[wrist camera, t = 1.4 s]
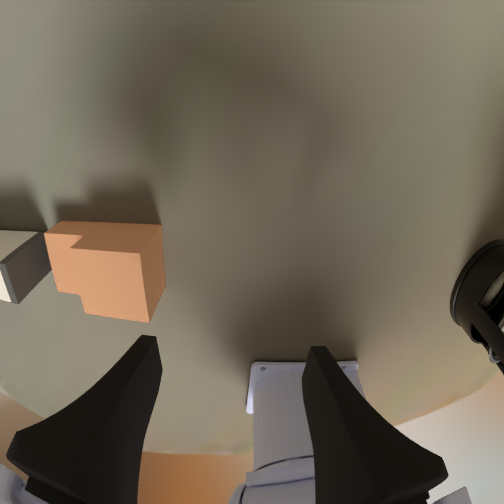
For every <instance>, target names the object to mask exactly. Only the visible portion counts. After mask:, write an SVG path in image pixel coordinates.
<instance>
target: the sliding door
mask: <svg viewBox="0 0 504 504" xmlns="http://www.w3.org/2000/svg"><path fill="white" fill-rule="evenodd" d="M44 233H45V232H29V231H7V230H0V299H1V300H5V301H8V302H12V303H16V304H19V303H20V302H21V301H22V300H23V299H24V298H25V297H26V296H27V294H28V293H29V292H30V291H31V290H32V289H33V288H34V287H35V286H36V285H37V284H38V283H39V282H40V281H41V280H42V279H43V278H44V277H45V276H46V275H47V274H48V273H49V272H50V271H51V270H52V267H51V263H50V259H49V255H48V250H47V246H46V241H45V236H44Z"/></svg>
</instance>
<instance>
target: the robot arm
mask: <svg viewBox="0 0 504 504" xmlns="http://www.w3.org/2000/svg"><path fill="white" fill-rule="evenodd" d="M358 367H359V364H358V362H357V361H340V362H336V360H335V359H334V357H333V356H332V354H331V353H330V352H329V350H328V349H327V347H326V346H311V348H310V352H309V355H308V358H307V362H254V363H252V365H251V372H250V380H249V389H248V397H247V405H246V412H247V413H249V414H253V447H254V471H253V472H247V473H246V483H241V484H239V485H238V486H237V487H236V489H235V491H234V492H233V493H232V495H231V497H230V499H229V503H228V504H427V502H426V500H427V499H429V497H430V496H429V493H428V491H429V490H431V489H432V488H434V487H435V486H437V485H439V484H440V483H442V482H443V481H444V480H446V479H447V477H448V472H447V469H446V466H445V463H444V461H443V459H442V457H440V456H438V455H436V454H434V453H432V452H430V451H429V450H427V449H425V448H423V447H421V446H420V445H418V444H417V443H415V442H413V441H412V440H410V439H409V438H408V437H406V436H405V435H403V434H402V433H401V432H399V431H398V430H397V429H396V428H395V427H393V426H392V425H391V424H390V423H388V422H387V421H386V420H385V419H384V418H383V417H382V416H381V415H380V414H379V413H378V412H377V411H376V410H375V409H374V408H373V407H372V406H371V405H370V404H369V403H368V402H367V401H366V398H365V395H364V392H363V389H362V386H361V383H360V380H359V377H358V374H357V369H358ZM162 370H163V369H162V364H161V359H160V354H159V349H158V344H157V339H156V337H155V336H148V335H141V336H140V337H139V338H138V339H137V340H136V342H135V343H134V344H133V345H132V346H131V347H130V348H129V350H128V351H127V352H126V353H125V354H124V355H123V356H122V357H121V359H120V360H119V361H118V362H117V363H116V364H115V365H114V366H113V367H112V368H111V369H110V370H109V371H108V372H107V373H106V374H105V375H104V376H103V377H102V378H101V379H100V380H99V381H98V382H97V383H96V384H95V385H93V386H92V387H91V388H90V389H89V390H88V391H87V392H85V393H84V394H83V395H82V396H80V397H79V398H78V399H76V400H75V401H74V402H72V403H71V404H69V405H68V406H67V407H65V408H64V409H62V410H60V411H59V412H57V413H55V414H54V415H52V416H50V417H48V418H46V419H45V420H43V421H41V422H39V423H37V424H34V425H32V426H30V427H27V428H25V429H23V430H20V431H17V432H16V434H15V436H14V438H13V440H12V442H11V444H10V447H9V449H8V451H7V454H6V457H7V459H8V460H9V461H10V462H11V463H13V464H14V465H15V466H16V467H18V468H19V469H20V470H22V471H23V472H24V473H26V474H27V475H28V476H29V478H28V481H27V482H26V481H24V480H23V479H22V478H21V477H19V476H18V475H17V474H15V473H14V472H12V471H11V470H9V469H8V468H6V467H5V466H3V465H1V464H0V504H137V494H138V481H139V471H140V463H141V462H140V461H141V455H142V449H143V443H144V438H145V434H146V430H147V427H148V424H149V421H150V417H151V414H152V411H153V408H154V404H155V401H156V398H157V395H158V391H159V387H160V381H161V376H162ZM433 504H472V503H471V500H470V497H469V494H468V491H467V488H466V487H463V488H461V489H459V490H457V491H455V492H453V493H451V494H449V495H447V496H445V497H443V498H441V499H439V500H437V501H435V502H434V503H433Z"/></svg>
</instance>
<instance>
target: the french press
mask: <svg viewBox="0 0 504 504" xmlns="http://www.w3.org/2000/svg"><path fill="white" fill-rule="evenodd" d="M503 271H504V240H496V241H492V242H490V243H488V244H486V245H485V246H484V247H482V248H481V249H480V250H479V251H478V252H477V253H476V254H475V255H474V256H473V257H472V258H471V259H470V261H469V262H468V263H467V264H466V266H465V268H464V269H463V271H462V272H461V274H460V276H459V278H458V280H457V282H456V284H455V287H454V290H453V292H452V297H451V302H450V312H451V316H452V318H453V320H454V321H455V322H456V323H457V325H459V326H461V327H462V328H463V329H464V331H465V332H466V333H467V335H468V336H469V337H470V339H471V340H472V341H473V342H475V343H482V344H483V346H484V347H485V348H486V350H487V351H488V354H489V360H490V361H491V362H492V363H496V364H497V365H498V367H499V368H500V370H501V371H502V373H503V374H504V288H503V290H502V292H501V294H500V295H499V297H498V298H497V299H496V301H495V302H494V303H493V304H492V305H491V306H490V307H489V308H488V309H487V310H484V309H483V308H482V307H481V306H480V305H479V303H480V302H481V300H482V298H483V296H484V295H485V293H486V292H487V290H488V289H489V287H490V286H491V284H492V283H493V282H494V281H495V279H496V278H497V277H498V276H499V275H500V274H501V273H502V272H503Z"/></svg>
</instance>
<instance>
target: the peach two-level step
mask: <svg viewBox="0 0 504 504" xmlns="http://www.w3.org/2000/svg"><path fill="white" fill-rule="evenodd" d="M44 236H45V241H46V246H47V250H48V255H49V259H50V263H51V267H52V271H53V275H54V279H55V282H56V286H57V289H58V291H60V292H66V293H73V294H79V295H80V296H81V300H82V303H83V307H84V310H85V313H88V314H94V315H100V316H106V317H112V318H119V319H126V320H133V321H140V322H148V323H150V320H151V318H152V316H153V313H154V311H155V309H156V306H157V304H158V302H159V300H160V297H161V295H162V293H163V291H164V288H165V286H166V283H165V271H164V258H163V243H162V225H155V224H133V223H109V222H81V221H61V222H59V223H58V224H56V225H55V226H53V227H52V228H51V229H49V230H48V231H46V232H45V233H44Z"/></svg>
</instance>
